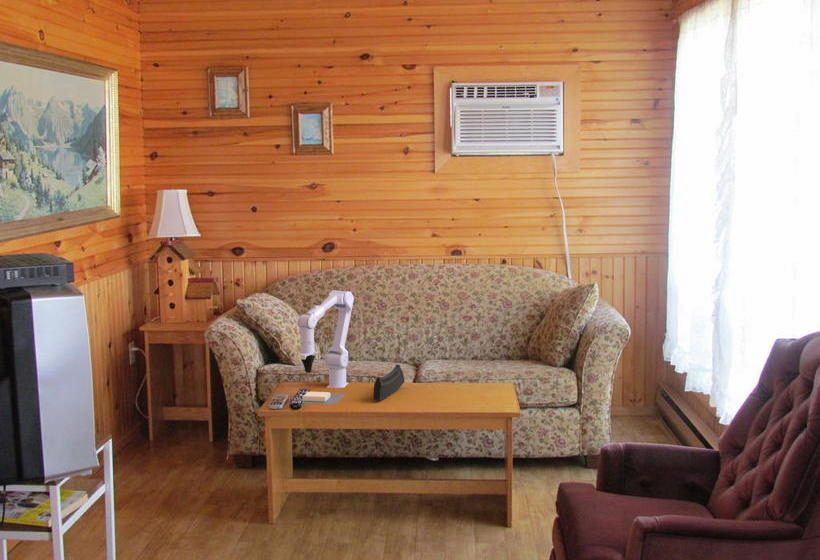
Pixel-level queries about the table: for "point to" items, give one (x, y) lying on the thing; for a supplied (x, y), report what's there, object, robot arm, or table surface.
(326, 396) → the tile
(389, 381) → the magazine
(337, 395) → the mat
